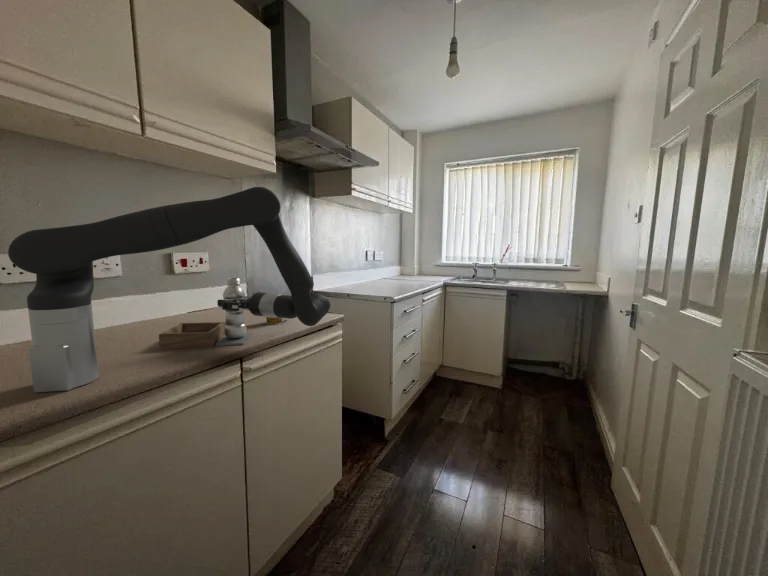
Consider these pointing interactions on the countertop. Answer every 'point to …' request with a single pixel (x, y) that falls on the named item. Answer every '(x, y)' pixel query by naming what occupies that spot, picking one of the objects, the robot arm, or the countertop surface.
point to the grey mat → (234, 340)
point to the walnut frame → (192, 335)
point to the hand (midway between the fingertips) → (229, 301)
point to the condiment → (273, 320)
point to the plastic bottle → (234, 318)
